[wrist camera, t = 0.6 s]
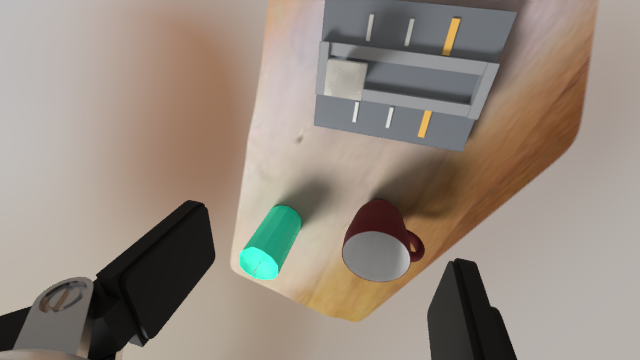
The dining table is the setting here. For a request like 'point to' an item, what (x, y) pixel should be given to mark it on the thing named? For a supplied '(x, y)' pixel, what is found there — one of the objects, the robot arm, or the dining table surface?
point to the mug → (380, 243)
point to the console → (411, 68)
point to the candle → (270, 243)
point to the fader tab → (345, 79)
